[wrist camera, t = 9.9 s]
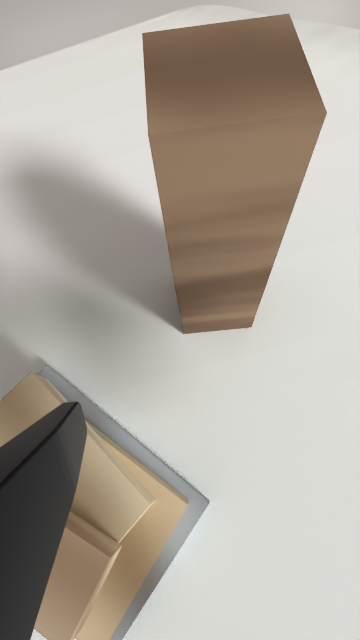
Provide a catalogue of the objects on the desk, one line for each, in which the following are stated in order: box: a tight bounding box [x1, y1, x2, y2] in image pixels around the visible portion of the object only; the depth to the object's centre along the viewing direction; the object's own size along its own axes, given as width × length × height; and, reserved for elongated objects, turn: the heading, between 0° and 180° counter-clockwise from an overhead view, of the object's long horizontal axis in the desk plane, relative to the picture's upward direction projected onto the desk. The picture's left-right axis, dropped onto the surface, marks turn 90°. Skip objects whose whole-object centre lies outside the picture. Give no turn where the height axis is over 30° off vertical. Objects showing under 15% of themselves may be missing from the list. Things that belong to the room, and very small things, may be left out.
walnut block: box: [142, 14, 327, 334], centre depth 14 cm, size 4×4×13 cm
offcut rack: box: [0, 365, 209, 640], centre depth 14 cm, size 7×11×6 cm, turn 53°
